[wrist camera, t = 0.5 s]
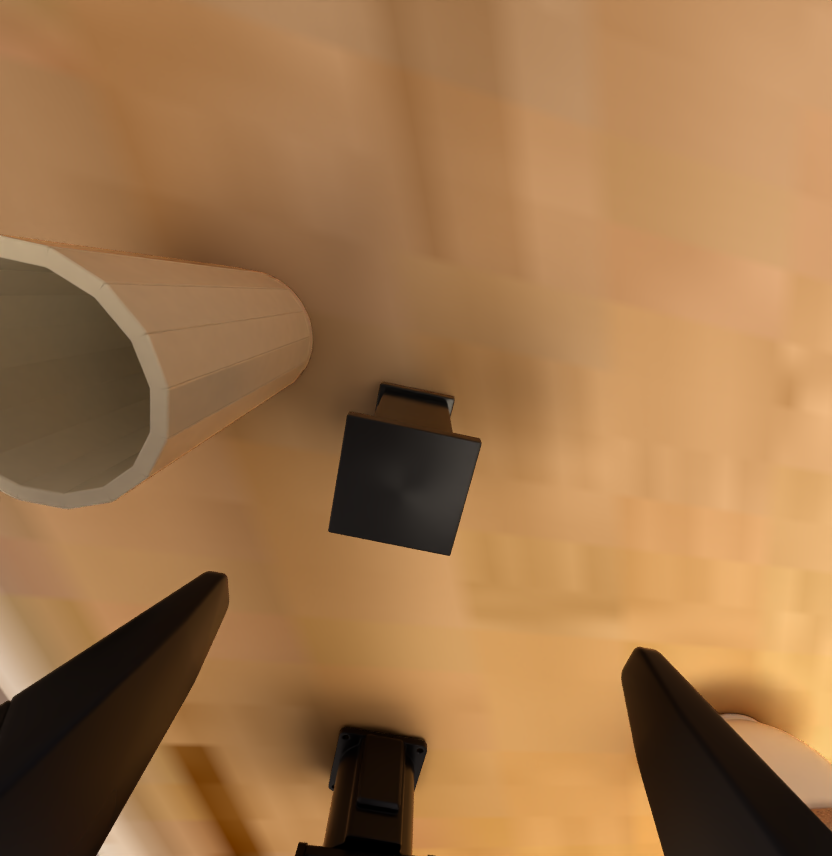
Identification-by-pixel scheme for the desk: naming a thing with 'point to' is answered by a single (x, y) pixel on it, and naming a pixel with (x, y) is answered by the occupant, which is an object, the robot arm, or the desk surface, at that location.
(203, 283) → the pen pot
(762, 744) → the trinket box
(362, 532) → the leg piece
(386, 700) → the desk surface
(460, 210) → the desk surface
